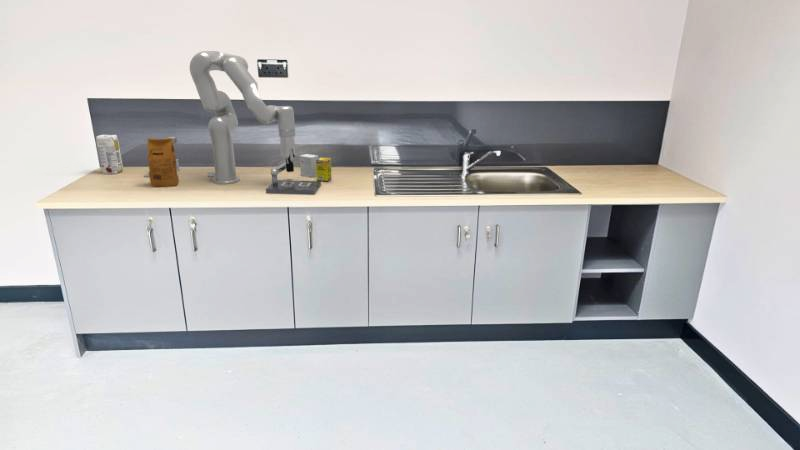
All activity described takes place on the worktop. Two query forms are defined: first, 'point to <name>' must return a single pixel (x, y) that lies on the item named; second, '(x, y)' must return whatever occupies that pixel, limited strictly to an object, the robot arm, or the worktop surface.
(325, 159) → the supplement box
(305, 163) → the small box
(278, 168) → the cable arm
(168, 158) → the coffee package
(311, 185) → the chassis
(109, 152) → the white flour bag
